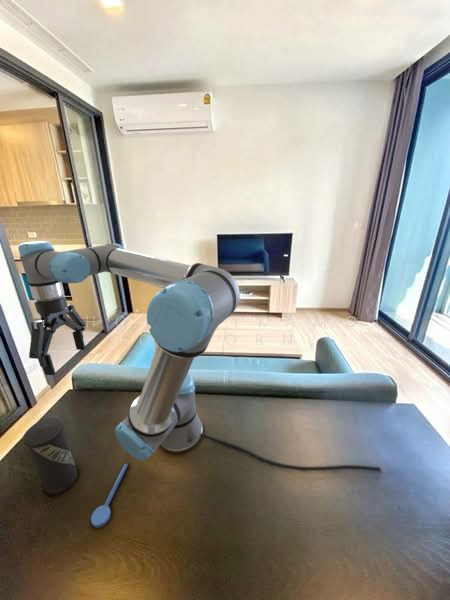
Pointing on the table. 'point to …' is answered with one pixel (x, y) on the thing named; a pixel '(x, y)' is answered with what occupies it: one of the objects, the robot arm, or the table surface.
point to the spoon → (106, 504)
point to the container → (51, 454)
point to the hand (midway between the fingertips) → (66, 360)
